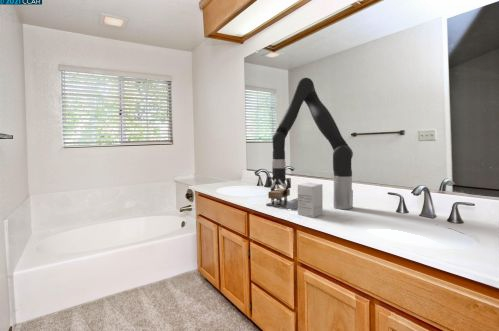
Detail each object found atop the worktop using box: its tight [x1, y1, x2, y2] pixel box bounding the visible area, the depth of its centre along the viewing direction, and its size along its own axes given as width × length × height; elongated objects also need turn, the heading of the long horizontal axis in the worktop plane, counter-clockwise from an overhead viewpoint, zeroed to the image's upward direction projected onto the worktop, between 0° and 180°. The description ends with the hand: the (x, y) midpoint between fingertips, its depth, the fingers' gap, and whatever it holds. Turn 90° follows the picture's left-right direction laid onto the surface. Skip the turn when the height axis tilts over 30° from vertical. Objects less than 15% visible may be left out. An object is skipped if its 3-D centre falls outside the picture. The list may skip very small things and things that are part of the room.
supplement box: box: [297, 182, 324, 218], centre depth 134 cm, size 9×9×15 cm
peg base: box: [265, 196, 289, 208], centre depth 158 cm, size 9×14×4 cm, turn 145°
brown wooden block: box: [267, 188, 291, 200], centre depth 158 cm, size 14×6×4 cm, turn 145°
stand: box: [286, 197, 298, 211], centre depth 151 cm, size 14×3×4 cm, turn 144°
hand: (279, 195), depth 158 cm, fingers open, 7 cm apart
